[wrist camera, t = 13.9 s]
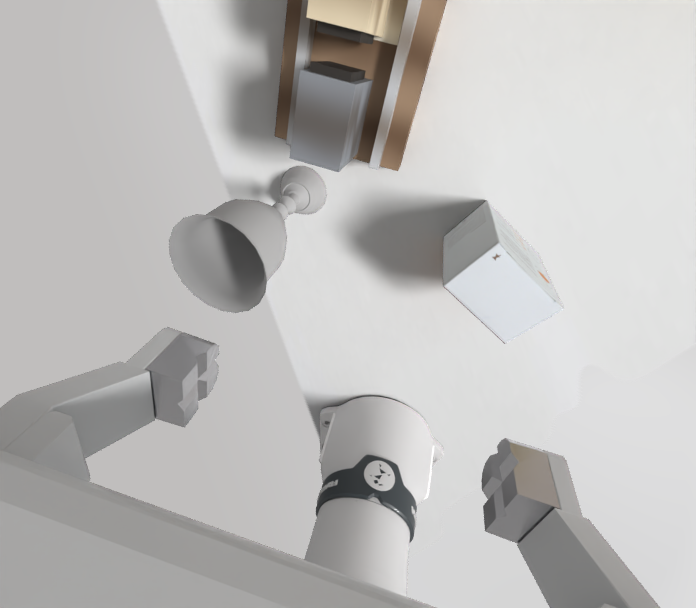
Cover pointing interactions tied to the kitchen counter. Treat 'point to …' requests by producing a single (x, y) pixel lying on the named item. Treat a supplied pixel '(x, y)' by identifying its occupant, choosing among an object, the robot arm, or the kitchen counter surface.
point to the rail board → (373, 68)
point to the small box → (497, 274)
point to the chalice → (241, 243)
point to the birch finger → (350, 18)
